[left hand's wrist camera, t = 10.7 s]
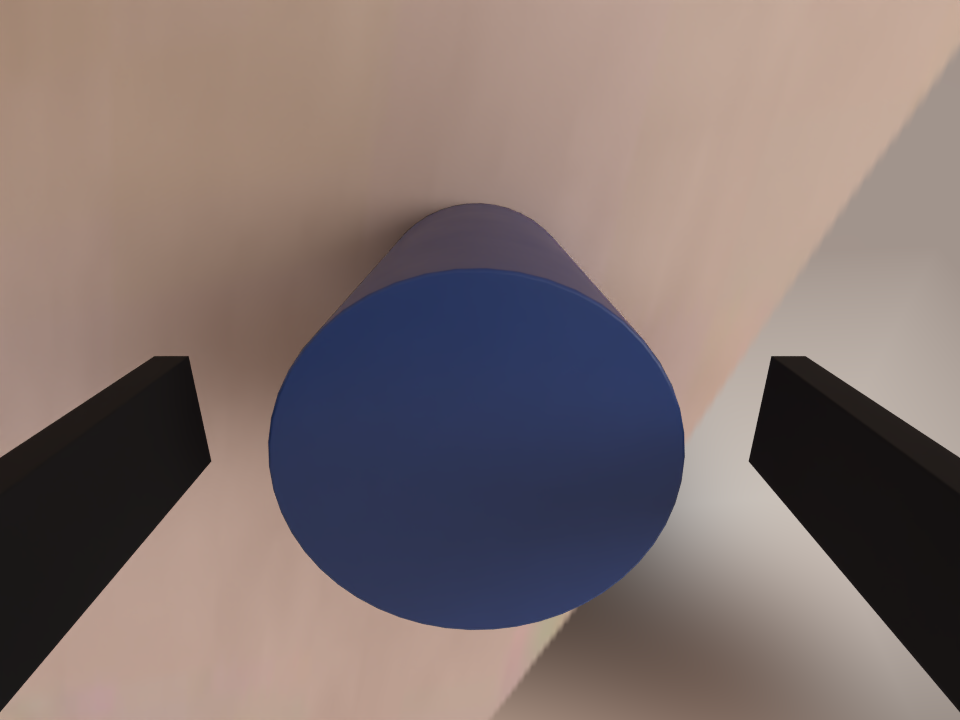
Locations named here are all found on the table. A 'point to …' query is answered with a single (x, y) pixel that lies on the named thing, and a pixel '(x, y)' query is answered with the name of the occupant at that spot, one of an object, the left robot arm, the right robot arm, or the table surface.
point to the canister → (476, 431)
